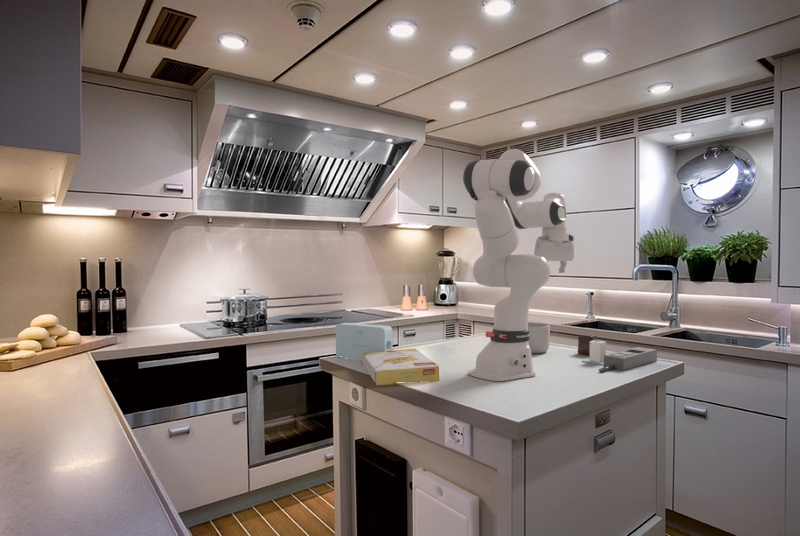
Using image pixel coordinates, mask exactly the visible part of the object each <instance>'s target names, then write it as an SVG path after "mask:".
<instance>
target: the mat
mask: <svg viewBox="0 0 800 536" xmlns="http://www.w3.org/2000/svg"><path fill="white" fill-rule="evenodd" d="M581 362H582V363H587V364H592V365H599V366H604V362H594V361H590V358H586V359H584V360H581Z"/></svg>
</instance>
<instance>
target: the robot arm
mask: <svg viewBox="0 0 800 536" xmlns="http://www.w3.org/2000/svg"><path fill="white" fill-rule="evenodd" d="M462 175H463V176H462V181H463V184H464V187H465V189H466V191H467V193H468V194H469V196H470V198H471V199H473V200H475V201H476V203H475V204H474V215H475V222H476V225H477V226H476V227H477V229H478V232H479V233H478V234H479V235H480V239H481V241H482V246H483V253H482V255H481V256H480V257H478V258H477V259H476V260H475V262H474V264H473V267H472V274H473V275H472V276H473V278H474V280H475V282H476V283H477V284H478V285H480V286H484V287H485V286H486V287H489V288H509V289H510V293H509V295H508V296H506V297H505V298H502V299H500V300H499V301H498V302H496V304H495V305H494V307H493V328H492V331H489V330H486V331H485V332H484V336H485V338H489V340H490V341H489V342H488V343H487V345H486V346H485V347H484V348H483V349H482V350H481V351H480V352H479V353H478V354H477V356H476V358H475V359H476V360H475V368H473V369H470V370H468V375H469V376H470V377H475V378H478V379H482V380H486V381H494V382H504V381H511V380H512V381H513V380H518V379H523V378H531V377H536V374H537V373H536V371H534V367H533V366H534V365H533V364H534V363H533V355H532V354H533V353H531V349H530V347H529V343H528V341H529V336H530V333H529V329H528V323H529V312H530V311H529V310H530V304H531V301H532V299H533V297H534V295H535V294H536V293H537V292H538V290H540V289H541V288H543V287H544V286H545V285H546V284H547V282H548V281H549V279H550V276H551V265H550V263H549V262H559V264H560V266H559V268H558V273H559V274H564V273H565V272H566V267H567V264H568V262H570V261H571V262H572V261H573V260H574V258H575V257H574V256H575V245H574V243H573V242H575V236H574V235H572V234H570V233H569V232H568V231H567V226H566V220H567V205H566V198H565V196H564V195H563V194H561V193H555V192H551V193H550V192H549V193H546V194H545V195H544V197H543V200H539V201H537V200H536V201H523V200H528V199H530V198H532V197H533V196H534V195H535V194H537V192H538V191H539V189H540V187H541V184H542V178H541V177H542V176H541V174H540V171H539V169H538V168H537V166H536V165H535V162H533V161H532V159H531V158H530V157H529V156H528V155H527V154H526V153H525V152H524V151H523V150H520V149H518V148H510V149H508V150H506V151H504V152H503V153H501V155H500V156H499V158H493V159H492V158H490V159H484V160H483V159H478V160H477V159H476V160H474V161H471V162H468V163H467V165H466V167H465V169H464V170H463V174H462ZM532 228H535V229H536V228H542V229H541V235H540V236H538V237H537V239H536V240H535V244H534V253H533V254H512V253H514V252H515V251H516V249H517V248H518V246H519V242H520V239H519V238H520V237H519V234H518V231H517V229H518V230H524V229H525V230H526V229H532Z"/></svg>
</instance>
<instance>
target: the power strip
mask: <svg viewBox="0 0 800 536" xmlns="http://www.w3.org/2000/svg"><path fill="white" fill-rule="evenodd" d="M657 360H658V349H657V348H656V349H654V348H647V347H639V346H636V347H632V348H628V349H624V350H620V351H617V352H612V353H606V355H604V365H603V367H602V368H599V369H598V371H599V373H604V372H607V371H612V370H619V371H627V370H630V369H632V368H636V367H639V366H644V365H646V364H651V363H653V362H657Z"/></svg>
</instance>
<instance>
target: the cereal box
mask: <svg viewBox="0 0 800 536" xmlns="http://www.w3.org/2000/svg"><path fill="white" fill-rule="evenodd" d="M362 357H363V361H362V367H363V366H364V367H365V368H366V369H365V368H364V367H363V368H364V369H365V371H366V370H367V371H368V372H369V374H370V375H371V376H370V375H369V374H368V375H369V376H370V377H371V379H372V380H373V382H374V384H376V386H385V385H394V384H393V383H397V382H415V383H421V382H420V381H429V382H437V381H440V365H438V364H437V363H435V362H434V361H433V360H432V359H430V358H428V357H427V356H426V355H424V354H423V353H422V352H421V351H420V350H418V349H416V348H408V349H396V350H393V351H383V352H370V353H363V354H362ZM367 371H366V372H367ZM368 372H367V373H368Z"/></svg>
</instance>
